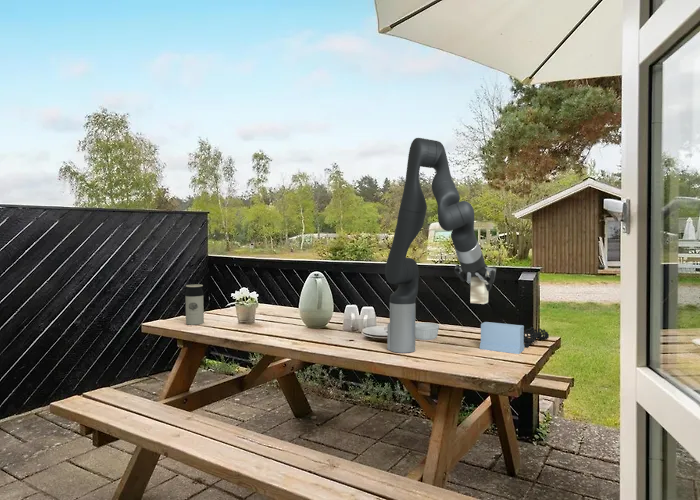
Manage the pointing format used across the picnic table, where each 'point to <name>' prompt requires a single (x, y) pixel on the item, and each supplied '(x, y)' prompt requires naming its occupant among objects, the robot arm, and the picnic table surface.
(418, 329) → the ramekin
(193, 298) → the travel mug
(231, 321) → the picnic table surface
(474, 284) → the birch post
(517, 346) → the light blue rectangular block
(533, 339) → the decorative element
